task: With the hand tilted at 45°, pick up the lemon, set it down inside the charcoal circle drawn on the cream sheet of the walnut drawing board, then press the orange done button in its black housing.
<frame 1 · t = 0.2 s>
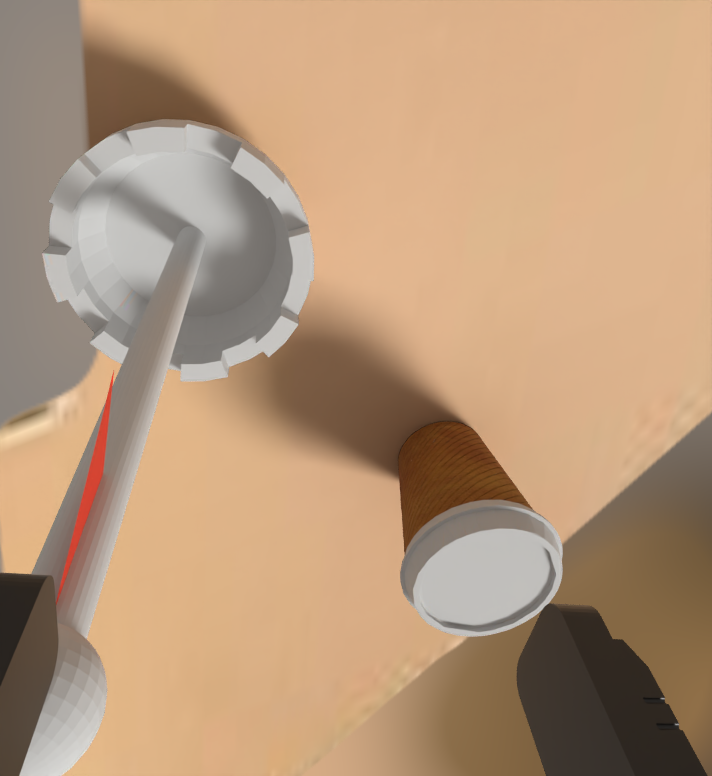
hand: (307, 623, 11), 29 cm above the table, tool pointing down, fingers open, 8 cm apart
disposable coffee cup: (440, 455, 46), on the table
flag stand: (194, 233, 36), on the table
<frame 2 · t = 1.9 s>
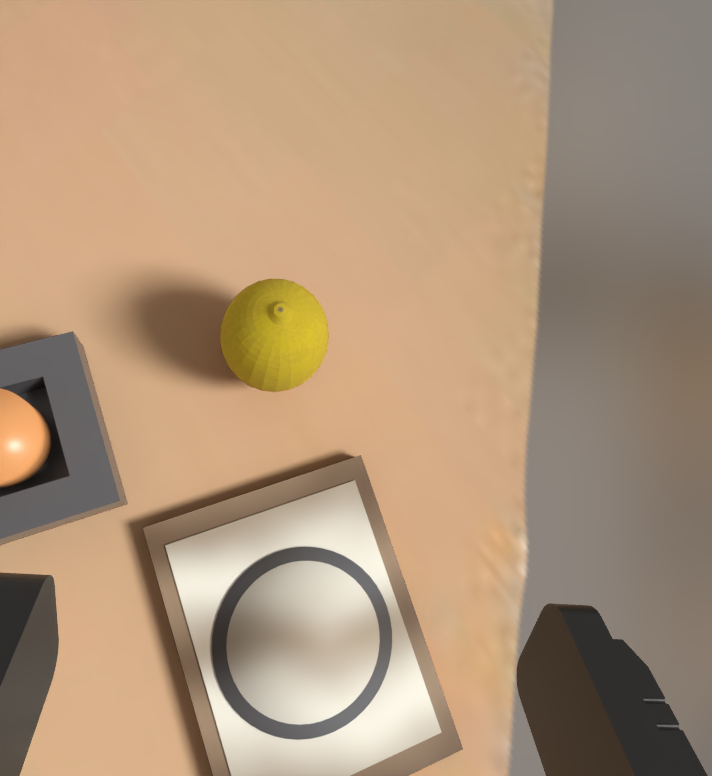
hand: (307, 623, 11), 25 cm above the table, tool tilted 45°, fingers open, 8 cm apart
drawing board: (301, 636, 34), on the table
button housing: (15, 448, 33), on the table
lemon: (269, 359, 37), on the table
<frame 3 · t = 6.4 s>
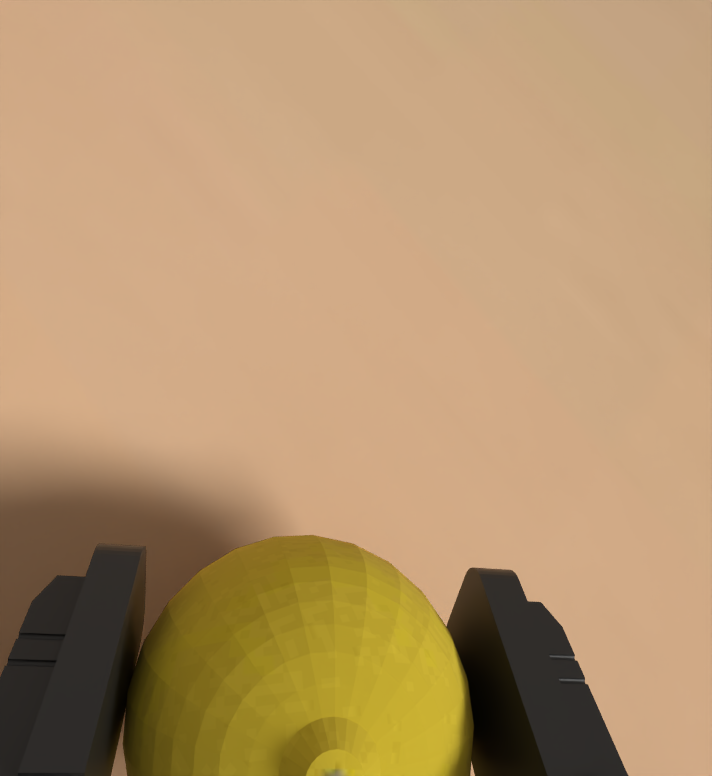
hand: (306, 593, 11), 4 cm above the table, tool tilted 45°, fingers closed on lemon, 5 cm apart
lemon: (277, 660, 15), on the table, touching gripper
when the fingers open (6 cm above the table, at t = 12.1 s): lemon stays where it is, resting on drawing board.
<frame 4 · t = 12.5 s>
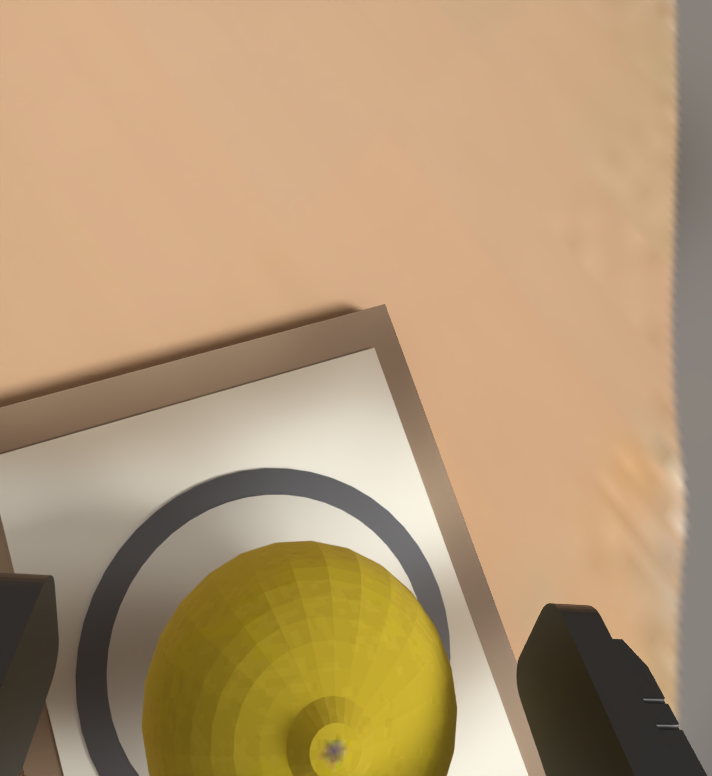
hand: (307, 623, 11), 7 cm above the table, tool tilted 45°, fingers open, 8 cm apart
drawing board: (270, 646, 17), on the table
lemon: (277, 660, 16), point 1 cm above the table, touching drawing board
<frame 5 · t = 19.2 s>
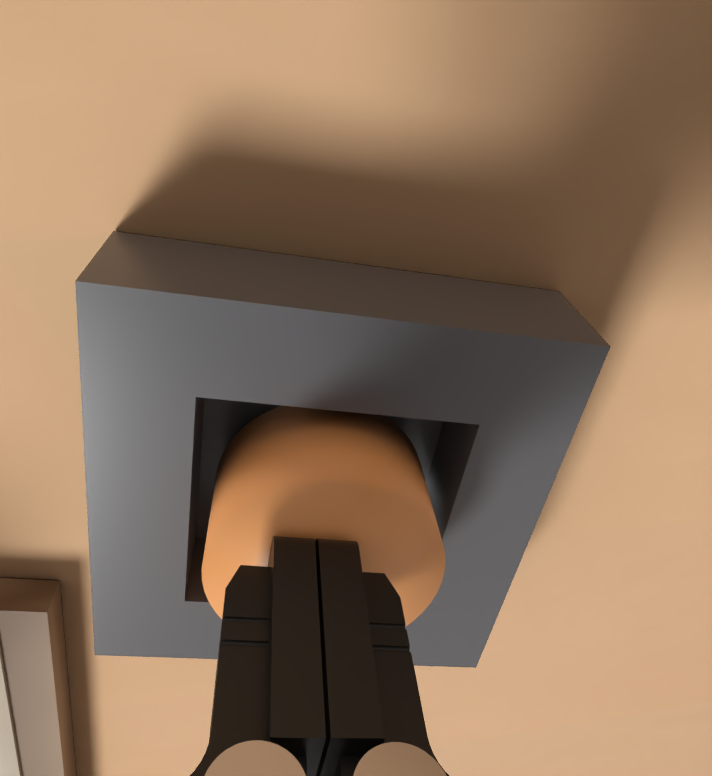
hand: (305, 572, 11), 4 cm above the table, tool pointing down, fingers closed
button housing: (317, 445, 15), on the table
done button: (322, 526, 13), point 3 cm above the table, slide at 0.5 cm, touching gripper
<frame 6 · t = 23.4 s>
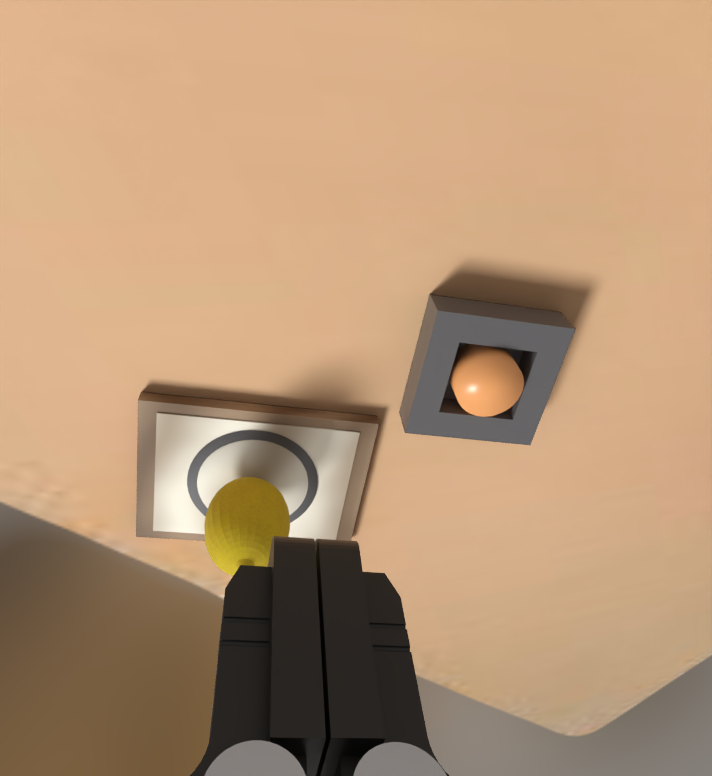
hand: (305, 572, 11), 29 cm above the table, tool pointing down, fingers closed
drawing board: (253, 473, 47), on the table
button housing: (477, 364, 44), on the table
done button: (484, 378, 42), point 2 cm above the table, slide at 1.3 cm
lemon: (250, 483, 46), point 1 cm above the table, touching drawing board
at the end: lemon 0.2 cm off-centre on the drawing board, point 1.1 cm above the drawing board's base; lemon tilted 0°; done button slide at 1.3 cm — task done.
